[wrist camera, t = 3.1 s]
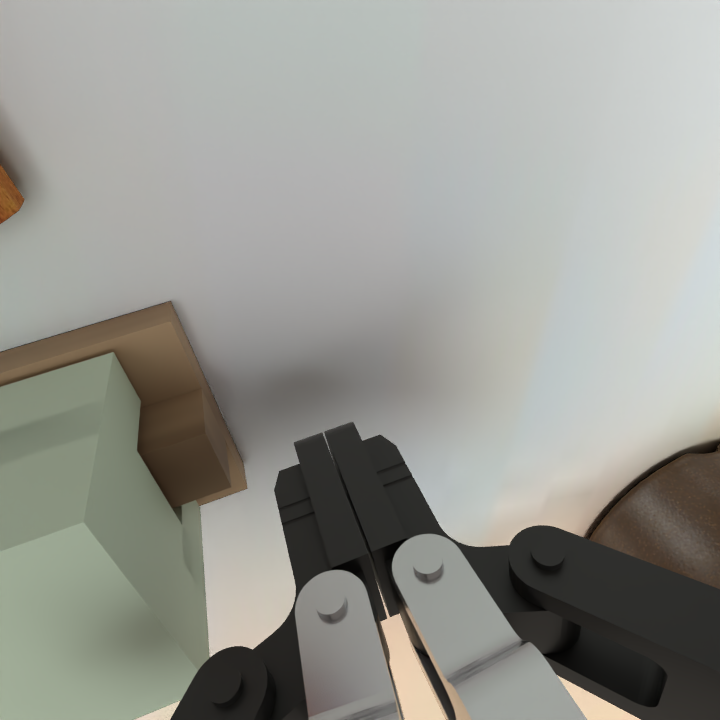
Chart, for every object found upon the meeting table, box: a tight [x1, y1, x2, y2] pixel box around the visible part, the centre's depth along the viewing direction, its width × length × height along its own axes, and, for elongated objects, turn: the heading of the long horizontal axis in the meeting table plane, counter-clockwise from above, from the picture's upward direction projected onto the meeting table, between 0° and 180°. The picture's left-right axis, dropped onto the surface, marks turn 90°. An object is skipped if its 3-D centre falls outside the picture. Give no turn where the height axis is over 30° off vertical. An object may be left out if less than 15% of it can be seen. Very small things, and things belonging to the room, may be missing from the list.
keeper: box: [0, 352, 210, 720], centre depth 12 cm, size 6×5×6 cm
